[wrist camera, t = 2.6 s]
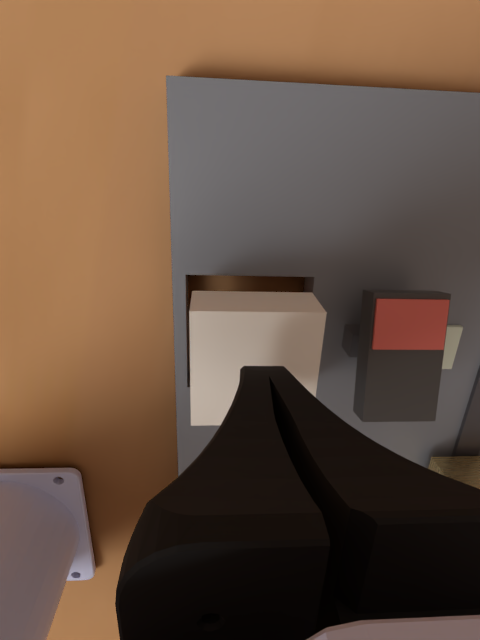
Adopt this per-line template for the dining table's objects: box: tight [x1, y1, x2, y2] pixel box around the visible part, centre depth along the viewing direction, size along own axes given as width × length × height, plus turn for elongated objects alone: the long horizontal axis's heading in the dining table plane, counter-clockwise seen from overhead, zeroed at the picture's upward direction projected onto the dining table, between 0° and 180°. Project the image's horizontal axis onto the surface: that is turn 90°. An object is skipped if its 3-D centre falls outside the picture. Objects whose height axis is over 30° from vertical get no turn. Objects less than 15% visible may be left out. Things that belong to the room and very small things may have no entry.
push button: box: [189, 291, 327, 426], centre depth 14 cm, size 4×4×2 cm
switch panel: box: [166, 76, 480, 477], centre depth 17 cm, size 16×22×2 cm
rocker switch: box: [353, 290, 451, 422], centre depth 15 cm, size 3×5×1 cm, turn 178°
